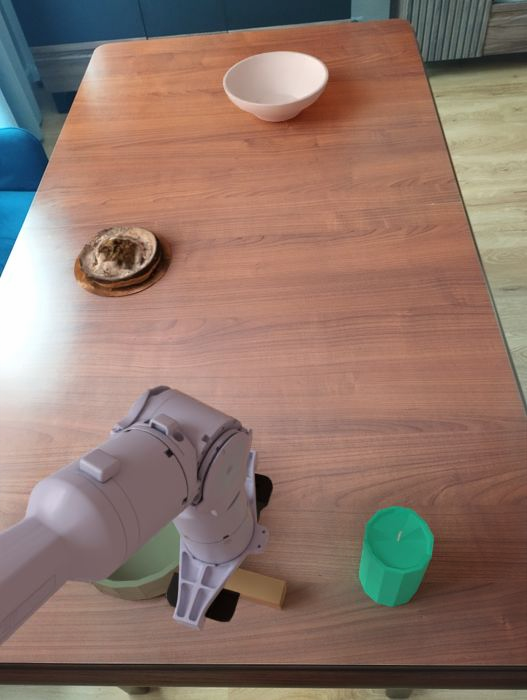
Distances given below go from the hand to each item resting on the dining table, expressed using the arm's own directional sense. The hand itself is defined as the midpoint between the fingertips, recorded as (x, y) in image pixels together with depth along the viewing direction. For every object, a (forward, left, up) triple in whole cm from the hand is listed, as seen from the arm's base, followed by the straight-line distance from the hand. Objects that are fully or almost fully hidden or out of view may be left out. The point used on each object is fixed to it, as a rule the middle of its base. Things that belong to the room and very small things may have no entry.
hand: (233, 564), depth 54 cm
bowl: (+86, +21, -7) cm, 89 cm away
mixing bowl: (+3, +12, -7) cm, 14 cm away
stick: (0, 0, -7) cm, 7 cm away
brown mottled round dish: (+41, +33, -7) cm, 53 cm away
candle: (+5, -14, -7) cm, 16 cm away
